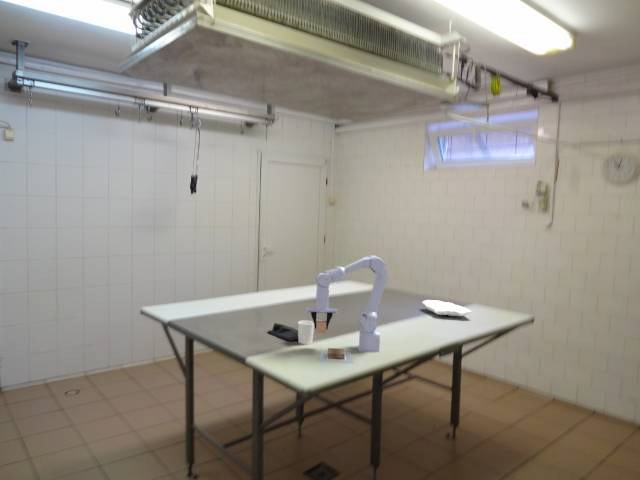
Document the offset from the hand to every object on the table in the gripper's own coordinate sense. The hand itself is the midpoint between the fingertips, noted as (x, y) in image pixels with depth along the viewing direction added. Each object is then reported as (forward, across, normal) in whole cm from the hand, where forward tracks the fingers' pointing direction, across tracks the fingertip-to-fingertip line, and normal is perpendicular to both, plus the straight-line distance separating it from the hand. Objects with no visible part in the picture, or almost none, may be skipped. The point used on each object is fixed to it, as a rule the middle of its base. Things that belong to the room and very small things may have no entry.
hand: (321, 328), depth 214 cm
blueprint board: (+10, +7, -10) cm, 16 cm away
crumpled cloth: (+10, +80, +79) cm, 113 cm away
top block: (+2, 0, 0) cm, 2 cm away
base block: (+10, +7, -10) cm, 16 cm away
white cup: (+10, -7, +9) cm, 15 cm away
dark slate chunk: (+11, -16, +21) cm, 28 cm away
